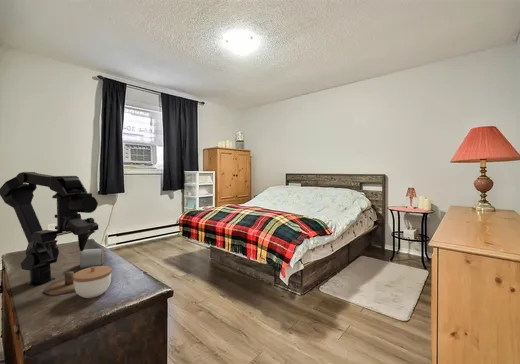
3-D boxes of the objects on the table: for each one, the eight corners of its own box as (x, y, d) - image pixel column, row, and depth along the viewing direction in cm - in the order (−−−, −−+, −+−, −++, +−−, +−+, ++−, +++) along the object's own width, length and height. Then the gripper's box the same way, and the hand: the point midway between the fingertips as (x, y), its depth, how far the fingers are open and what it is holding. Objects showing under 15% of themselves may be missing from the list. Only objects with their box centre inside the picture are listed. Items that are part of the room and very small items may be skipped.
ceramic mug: (103, 267, 105) (103, 249, 104) (79, 271, 100) (79, 252, 100) (103, 259, 114) (103, 243, 113) (82, 263, 109) (82, 246, 109)
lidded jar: (105, 284, 89) (105, 258, 88) (117, 293, 82) (116, 266, 82) (69, 295, 81) (68, 267, 80) (78, 307, 74) (78, 276, 73)
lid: (35, 291, 82) (35, 277, 82) (75, 275, 95) (75, 263, 94) (62, 297, 78) (61, 283, 78) (100, 280, 90) (99, 268, 90)
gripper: (53, 217, 74) (54, 268, 75) (108, 209, 91) (109, 249, 92) (29, 215, 77) (30, 263, 78) (87, 207, 95) (88, 246, 96)
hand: (68, 255), depth 86 cm, fingers open, 9 cm apart
